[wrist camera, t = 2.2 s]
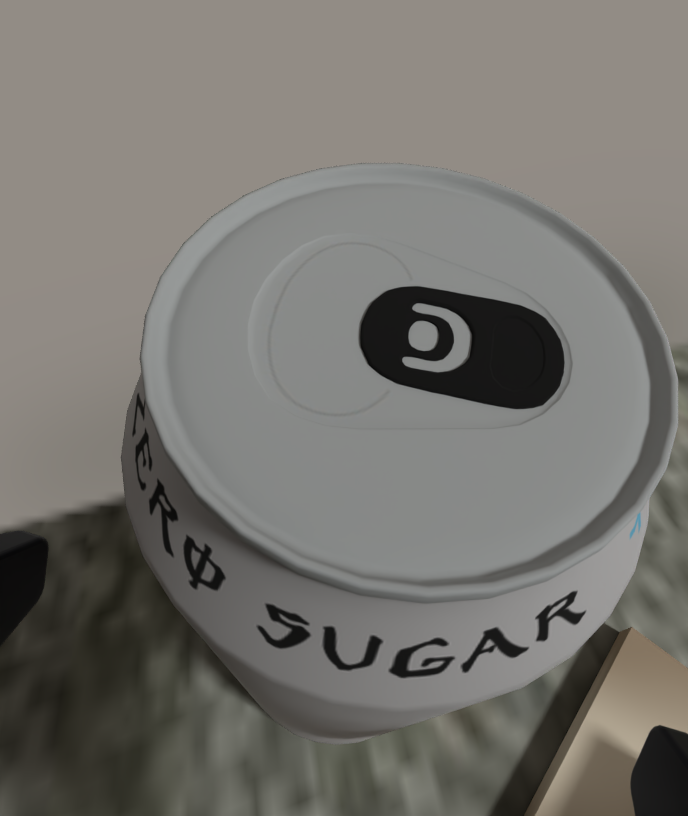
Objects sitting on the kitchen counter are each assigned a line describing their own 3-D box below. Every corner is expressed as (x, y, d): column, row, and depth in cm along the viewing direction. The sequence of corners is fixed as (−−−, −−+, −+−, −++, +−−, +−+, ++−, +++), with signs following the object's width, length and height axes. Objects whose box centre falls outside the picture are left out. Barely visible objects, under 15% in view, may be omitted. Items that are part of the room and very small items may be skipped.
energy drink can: (270, 524, 20) (204, 93, 7) (441, 563, 19) (705, 181, 7) (213, 717, 16) (-98, 576, 4) (417, 768, 16) (834, 801, 3)
